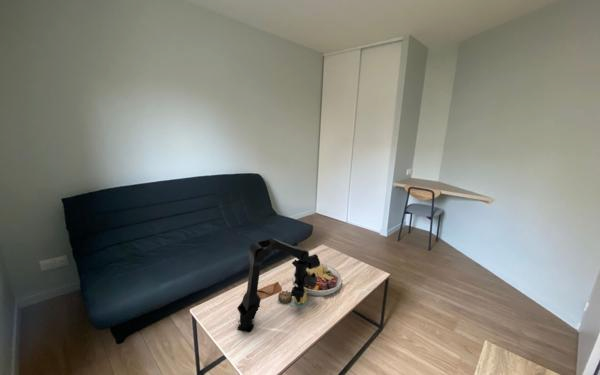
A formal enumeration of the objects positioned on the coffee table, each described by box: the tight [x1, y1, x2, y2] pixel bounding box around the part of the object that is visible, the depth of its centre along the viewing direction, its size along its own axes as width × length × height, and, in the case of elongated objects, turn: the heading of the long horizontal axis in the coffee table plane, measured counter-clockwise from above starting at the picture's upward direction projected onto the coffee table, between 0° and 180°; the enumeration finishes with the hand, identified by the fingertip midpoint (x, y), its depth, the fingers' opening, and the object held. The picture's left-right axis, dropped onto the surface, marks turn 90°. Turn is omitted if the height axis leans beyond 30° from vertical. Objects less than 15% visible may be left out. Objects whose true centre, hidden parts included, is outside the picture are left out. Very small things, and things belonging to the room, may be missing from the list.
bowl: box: [292, 263, 343, 297], centre depth 147 cm, size 30×30×8 cm
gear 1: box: [277, 290, 292, 304], centre depth 129 cm, size 7×7×4 cm
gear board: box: [276, 296, 309, 309], centre depth 129 cm, size 8×16×6 cm, turn 79°
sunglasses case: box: [257, 281, 283, 300], centre depth 136 cm, size 18×7×7 cm, turn 128°
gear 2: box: [294, 289, 308, 304], centre depth 127 cm, size 7×7×5 cm
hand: (300, 297), depth 128 cm, fingers closed on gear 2, 7 cm apart
